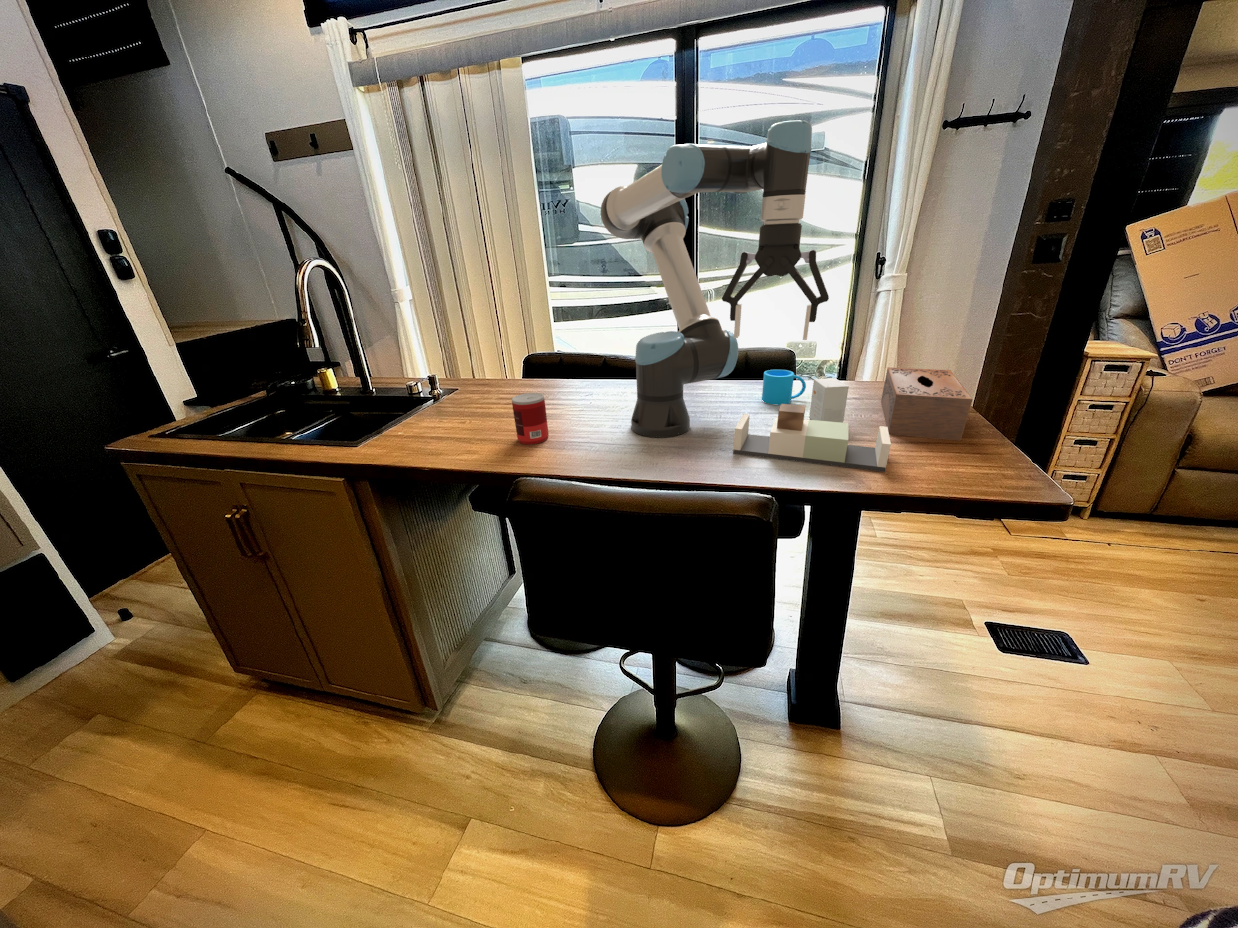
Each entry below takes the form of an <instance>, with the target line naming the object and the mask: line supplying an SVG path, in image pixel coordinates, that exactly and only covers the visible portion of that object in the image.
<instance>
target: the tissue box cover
mask: <svg viewBox="0 0 1238 928" xmlns="http://www.w3.org/2000/svg"><path fill="white" fill-rule="evenodd" d="M885 374H886V375H885V379H884V384H883V389H882V394H881V399H880V403H881V409H882V414H883V417H884V418H883V419H884V422H885V427H888V432H889V435H891V436H892V435H894V436H904V437H905V436H907V437H915V438H916V437H917V438H926V439H928V438H929V439H937V440H950V441H962V438H963V435H964V431H965V427H966V424H967V421H968V417H969V414H970V410H971V405H972V402H973V400H974V399H973V397H971V395H970V394H969V392H968V391H967V390H966V389H965V387H964V386H963V384H961V382H960V380H958V378H957V377H956V376H955V374H954V373H953V372H952V371H951V369H933V368H914V367H913V368H911V367H893V366H890V367H889V366H888V367H887V370H886V373H885Z"/></svg>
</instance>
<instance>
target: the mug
mask: <svg viewBox="0 0 1238 928" xmlns="http://www.w3.org/2000/svg"><path fill="white" fill-rule="evenodd" d="M794 379H797V380H798V381H800V383H801V386H802V387H801V389H800V391H799V392H798V393H797V394H794V395H792V394H793V386H794ZM806 387H807V384H806V381H805V379H804V378H802V377H801V376H798V375H796V374H795V373H794V372H793V371H791V370H787V369H770V370H769V369H768V370H765V371H764V372H763V381H762V393H761V395H762V396H761V401H762V400H763V401H764V402H766V403H765V404H767V403H769V404H768V405H772V404H778V405H777V406H781V405H780V404H790V403H791V402H792V400H794V399H797V398H798V397H801V396H802V395H803V394H804V392H805V391H806ZM763 401H762V402H763ZM764 402H763V403H764Z"/></svg>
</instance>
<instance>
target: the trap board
mask: <svg viewBox="0 0 1238 928" xmlns="http://www.w3.org/2000/svg"><path fill="white" fill-rule="evenodd" d="M750 417H751V416H750V413H748V414H747V413H742V415H741V417H740V418H739V420H738V422H737V424H736V426H735V427H734V432H733V433H734V434H733V436H734V437H733V455H742V456H751V457H759V458H767V459H774V460H775V459H776V460H783V461H791V462H801V463H805V464H806V463H808V464H815V465H816V464H817V465H824V466H832V467H833V466H834V467H840V468H848V469H854V470H855V469H857V470H866V471H872V472H881V473H886V469H887V465H888V459H889V457H890V456H889V455H890V451H891V445H892V443H891V438H890V437H891V436H890V434H889V432H888V427H886V425H885V426H883V425H879V427H878V430H877V431H878V432H877V437H876V440H875V447H873V446H872V447H871V446H863V445H853V444H849V422H843V423H840V422H829V421H818V420H811V419H805V418H804V422H803V427H802V431H797V430H787V429H777V422H778V416H776V417H775V419H774V422H773V424H772V427H771V430H770V434H769V436H768V435H767V436H766V435H759V434H749V429H750V427H749V426H750Z"/></svg>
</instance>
